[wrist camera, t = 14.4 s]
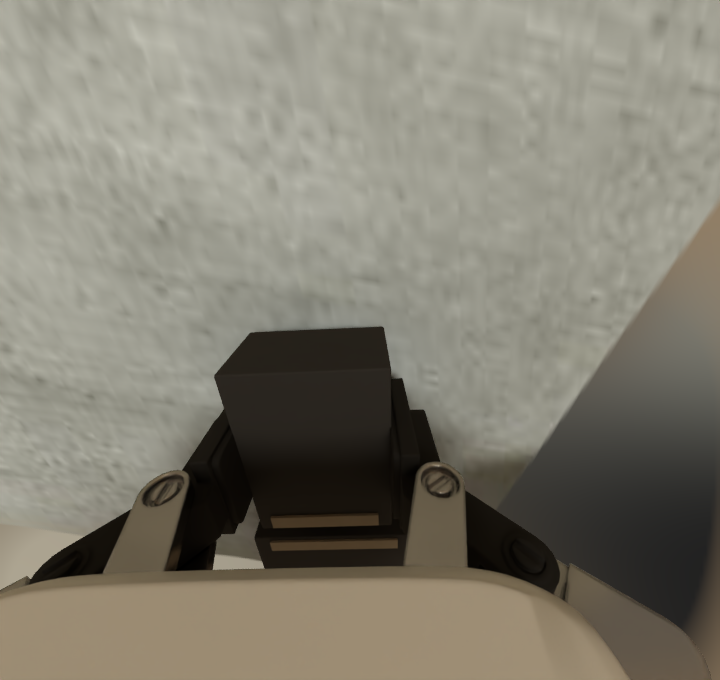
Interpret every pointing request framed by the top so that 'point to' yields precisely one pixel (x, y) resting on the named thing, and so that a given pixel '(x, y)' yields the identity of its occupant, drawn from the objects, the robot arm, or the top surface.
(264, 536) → the charcoal pad
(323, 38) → the top surface
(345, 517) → the black box
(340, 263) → the top surface
